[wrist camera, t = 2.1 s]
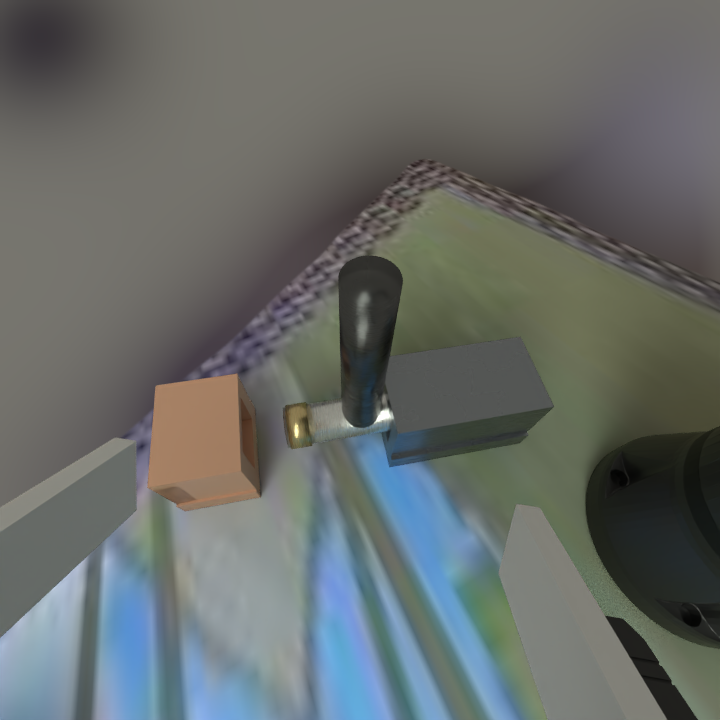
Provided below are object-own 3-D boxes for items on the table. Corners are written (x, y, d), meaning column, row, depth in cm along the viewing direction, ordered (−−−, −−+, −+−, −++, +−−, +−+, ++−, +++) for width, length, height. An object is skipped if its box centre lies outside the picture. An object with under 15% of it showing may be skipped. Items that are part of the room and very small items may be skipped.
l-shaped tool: (506, 380, 36) (621, 222, 21) (521, 415, 34) (658, 270, 19) (286, 416, 34) (238, 266, 19) (291, 455, 32) (241, 326, 17)
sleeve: (491, 375, 39) (518, 333, 33) (519, 443, 36) (555, 410, 29) (372, 394, 38) (378, 354, 31) (389, 467, 34) (399, 437, 28)
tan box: (255, 408, 36) (237, 371, 31) (260, 497, 32) (241, 474, 26) (187, 419, 36) (155, 383, 30) (184, 511, 32) (147, 490, 26)
